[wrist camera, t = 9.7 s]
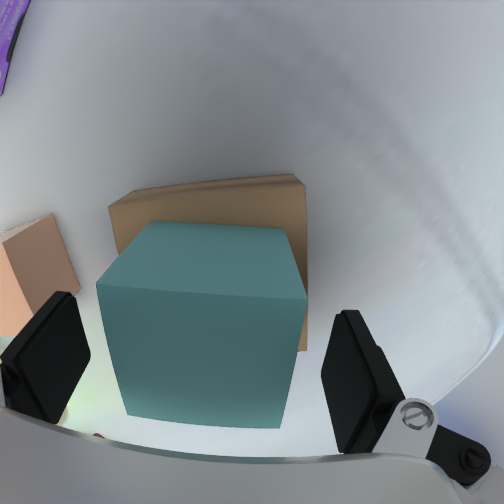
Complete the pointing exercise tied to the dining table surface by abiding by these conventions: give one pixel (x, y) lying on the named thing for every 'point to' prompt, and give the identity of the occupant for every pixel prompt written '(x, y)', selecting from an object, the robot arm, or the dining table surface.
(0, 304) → the terracotta cube
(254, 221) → the walnut block
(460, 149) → the dining table surface
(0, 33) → the candy box
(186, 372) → the teal cube
